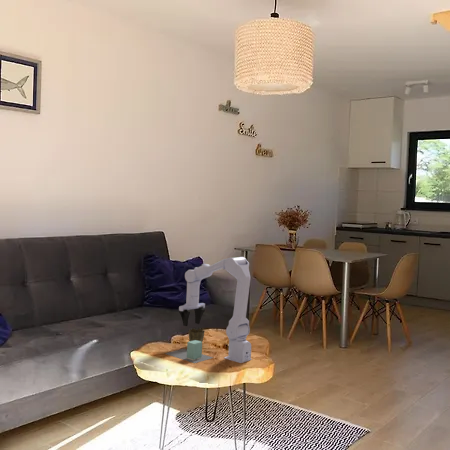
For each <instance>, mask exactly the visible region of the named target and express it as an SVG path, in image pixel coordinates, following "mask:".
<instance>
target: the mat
mask: <svg viewBox="0 0 450 450" xmlns="http://www.w3.org/2000/svg"><path fill="white" fill-rule="evenodd" d="M164 354H165V355H168V356H171V357H174V358H176V359H180V360H182V361H186V362H189V363H192V364H198V363H201V362H204V361H208V360H211V359H214V357H213V356H211V355H210V356H209V355H206V354H203V353H202V358H200V359H197V360H191V359H188V358H187V348H180V349H176V350H172V351H168V352H165V353H164Z"/></svg>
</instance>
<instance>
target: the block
mask: <svg viewBox="0 0 450 450" xmlns="http://www.w3.org/2000/svg"><path fill="white" fill-rule="evenodd" d="M186 349H187V358H188V359H191V360H197V359H200V358H202V354H203V353H202V352H203V341H202V342H201V341H197V340H193V341H187V346H186Z"/></svg>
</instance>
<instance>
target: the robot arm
mask: <svg viewBox="0 0 450 450" xmlns="http://www.w3.org/2000/svg"><path fill="white" fill-rule="evenodd" d="M249 267H250V262H249V261H248V260H247V258H246V257H244V256H238V257H228V258H222V259H221V260H219V261H217V262H215V263H212V264H209V263H202V264H201V265H200V266H195V267H194V268H193V269H188V270H187V271H185V273H184V279H185V281H186V299H185V300H186V301H185V302H186V303H184V304H183V305H180V306H179V307H178V313H179V315H180V317H181V319H182V321H181V322H182V325H183V326H184V327H188V325H189V318H190V315H191V311H190V310H194V322H195V323H194V324H197V325H200V324H201V323H200V322H201V320H202V317H203V315H204V313H205V311H206V303H204V302H200V285H201V281H202V280H204V279H207V278H209V277H211V276H212V275H213V273H214V272H216V271H217V272H218V271H221V270H225V271H226V272H227V273H229V274H230V275H231V276H232V277H233V278H235V279H236V282H237V283H236V290H235V297H234V305H233V306H234V307H233V312H232V317H231V318H230V319H229V320H228V325H227V326H226V329H225V335H226V336H227V338H228V356H225V357H223V358H224V359H226V360H229V361H232V362H236V363H239V364H242V363H245V362H248V361H251V360H253V359H252V343H251V342H250V341H248V340H247V336H248V335H249V334H250V331H251V329H250V320H249V319H248V318H247V311H248V302H249V293H250V287H251V286H250V285H251V279H252V278H251V273H250V268H249Z"/></svg>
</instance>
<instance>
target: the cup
mask: <svg viewBox="0 0 450 450" xmlns="http://www.w3.org/2000/svg"><path fill="white" fill-rule="evenodd" d="M204 336H205V329H203V328H198V329H197V328H189V329H188V340H189V341H193V340H197V341H201V342H202V343H203V342H204ZM189 341H188V342H189Z"/></svg>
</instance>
